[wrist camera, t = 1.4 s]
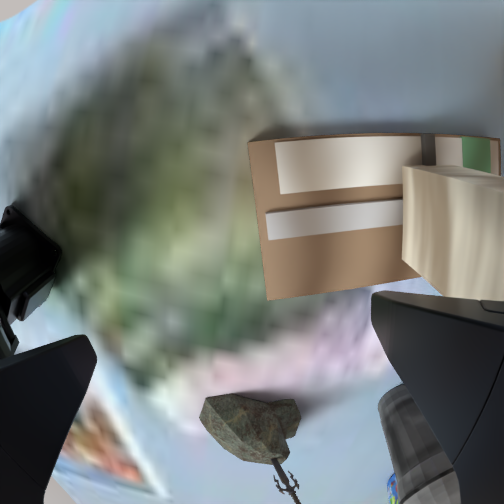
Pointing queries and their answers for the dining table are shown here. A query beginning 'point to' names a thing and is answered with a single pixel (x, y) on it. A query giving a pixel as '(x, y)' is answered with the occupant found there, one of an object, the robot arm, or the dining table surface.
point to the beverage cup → (416, 453)
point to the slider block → (454, 227)
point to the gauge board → (343, 205)
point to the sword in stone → (254, 430)
